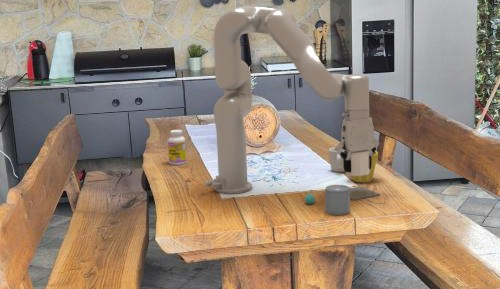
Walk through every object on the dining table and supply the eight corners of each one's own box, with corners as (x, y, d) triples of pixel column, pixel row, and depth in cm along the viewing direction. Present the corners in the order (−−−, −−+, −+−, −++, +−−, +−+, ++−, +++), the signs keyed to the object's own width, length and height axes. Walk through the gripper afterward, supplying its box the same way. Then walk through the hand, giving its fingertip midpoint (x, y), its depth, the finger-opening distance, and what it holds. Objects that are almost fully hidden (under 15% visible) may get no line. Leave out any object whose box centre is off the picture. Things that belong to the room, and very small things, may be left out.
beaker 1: (334, 216, 209) (333, 192, 208) (321, 210, 215) (321, 186, 214) (353, 212, 212) (353, 188, 211) (341, 206, 218) (340, 183, 217)
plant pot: (359, 185, 240) (358, 157, 238) (341, 179, 249) (340, 151, 247) (384, 181, 245) (384, 153, 243) (365, 174, 254) (365, 147, 252)
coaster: (352, 200, 224) (352, 198, 224) (335, 192, 233) (335, 191, 233) (379, 195, 228) (379, 193, 228) (361, 188, 237) (361, 186, 237)
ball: (308, 205, 220) (308, 196, 220) (303, 203, 223) (303, 193, 222) (316, 204, 222) (316, 194, 221) (311, 201, 224) (311, 192, 224)
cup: (350, 175, 253) (350, 153, 252) (327, 175, 255) (327, 153, 253) (352, 168, 264) (352, 146, 262) (330, 167, 265) (330, 146, 263)
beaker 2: (354, 176, 225) (354, 154, 223) (342, 172, 231) (342, 150, 229) (373, 173, 228) (372, 151, 226) (360, 169, 234) (360, 147, 232)
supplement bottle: (166, 164, 278) (164, 132, 276) (174, 160, 284) (172, 128, 282) (181, 165, 276) (179, 132, 273) (189, 161, 282) (187, 129, 279)
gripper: (339, 119, 218) (341, 176, 222) (387, 112, 226) (387, 168, 229) (326, 115, 225) (327, 171, 229) (373, 109, 232) (373, 163, 236)
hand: (357, 169), depth 229 cm, fingers closed on beaker 2, 6 cm apart
